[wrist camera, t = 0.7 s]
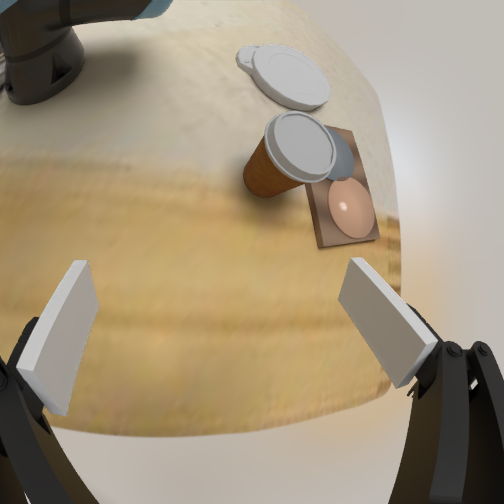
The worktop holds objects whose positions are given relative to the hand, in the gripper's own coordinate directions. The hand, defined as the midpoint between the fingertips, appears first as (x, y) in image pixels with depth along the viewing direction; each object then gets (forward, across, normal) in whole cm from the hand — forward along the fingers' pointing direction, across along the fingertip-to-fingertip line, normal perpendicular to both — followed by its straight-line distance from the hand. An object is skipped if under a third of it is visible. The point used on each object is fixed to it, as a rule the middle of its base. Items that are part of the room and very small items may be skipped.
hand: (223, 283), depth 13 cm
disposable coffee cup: (+29, +8, -1) cm, 30 cm away
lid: (+44, +14, +17) cm, 49 cm away
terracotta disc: (+28, +25, -5) cm, 38 cm away
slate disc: (+33, +21, +4) cm, 40 cm away
